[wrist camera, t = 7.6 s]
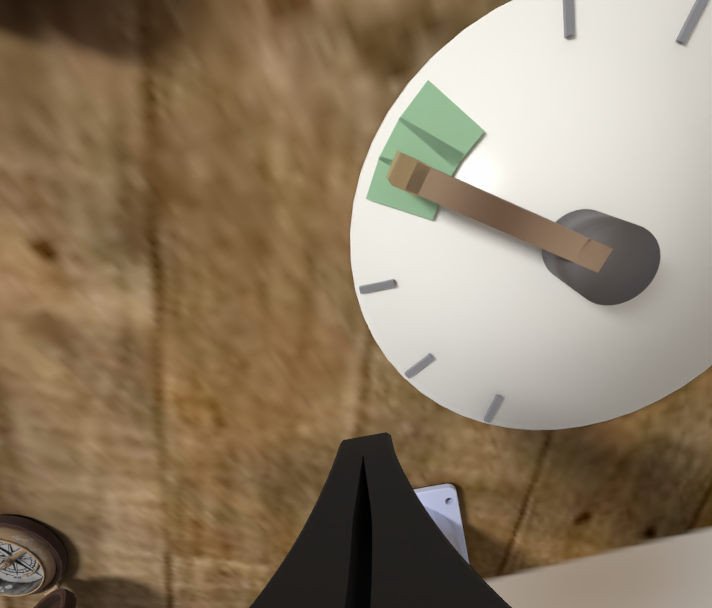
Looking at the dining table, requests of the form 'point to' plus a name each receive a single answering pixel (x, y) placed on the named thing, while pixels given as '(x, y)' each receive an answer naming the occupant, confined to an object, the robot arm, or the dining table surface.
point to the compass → (32, 562)
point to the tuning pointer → (549, 234)
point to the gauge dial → (546, 211)
